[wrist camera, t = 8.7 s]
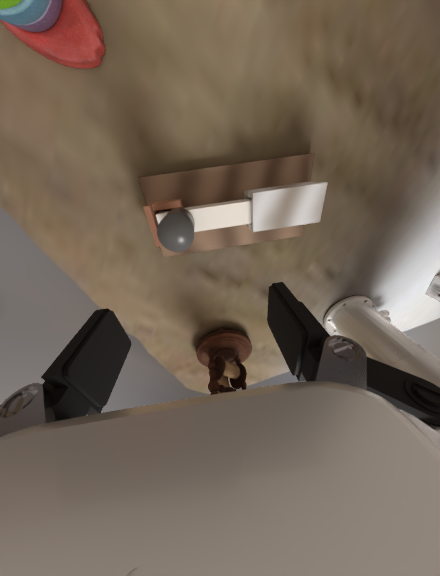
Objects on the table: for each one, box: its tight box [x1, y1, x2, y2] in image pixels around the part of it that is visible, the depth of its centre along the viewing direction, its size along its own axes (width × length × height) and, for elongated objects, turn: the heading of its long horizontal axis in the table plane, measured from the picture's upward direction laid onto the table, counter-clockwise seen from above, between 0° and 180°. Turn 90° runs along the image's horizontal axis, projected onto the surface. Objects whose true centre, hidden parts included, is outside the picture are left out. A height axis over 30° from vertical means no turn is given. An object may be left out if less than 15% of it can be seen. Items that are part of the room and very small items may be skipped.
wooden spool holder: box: [197, 327, 252, 395], centre depth 39 cm, size 15×15×20 cm
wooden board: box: [138, 153, 328, 257], centre depth 26 cm, size 26×12×6 cm, turn 97°
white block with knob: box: [156, 198, 252, 252], centre depth 23 cm, size 14×4×9 cm, turn 97°
